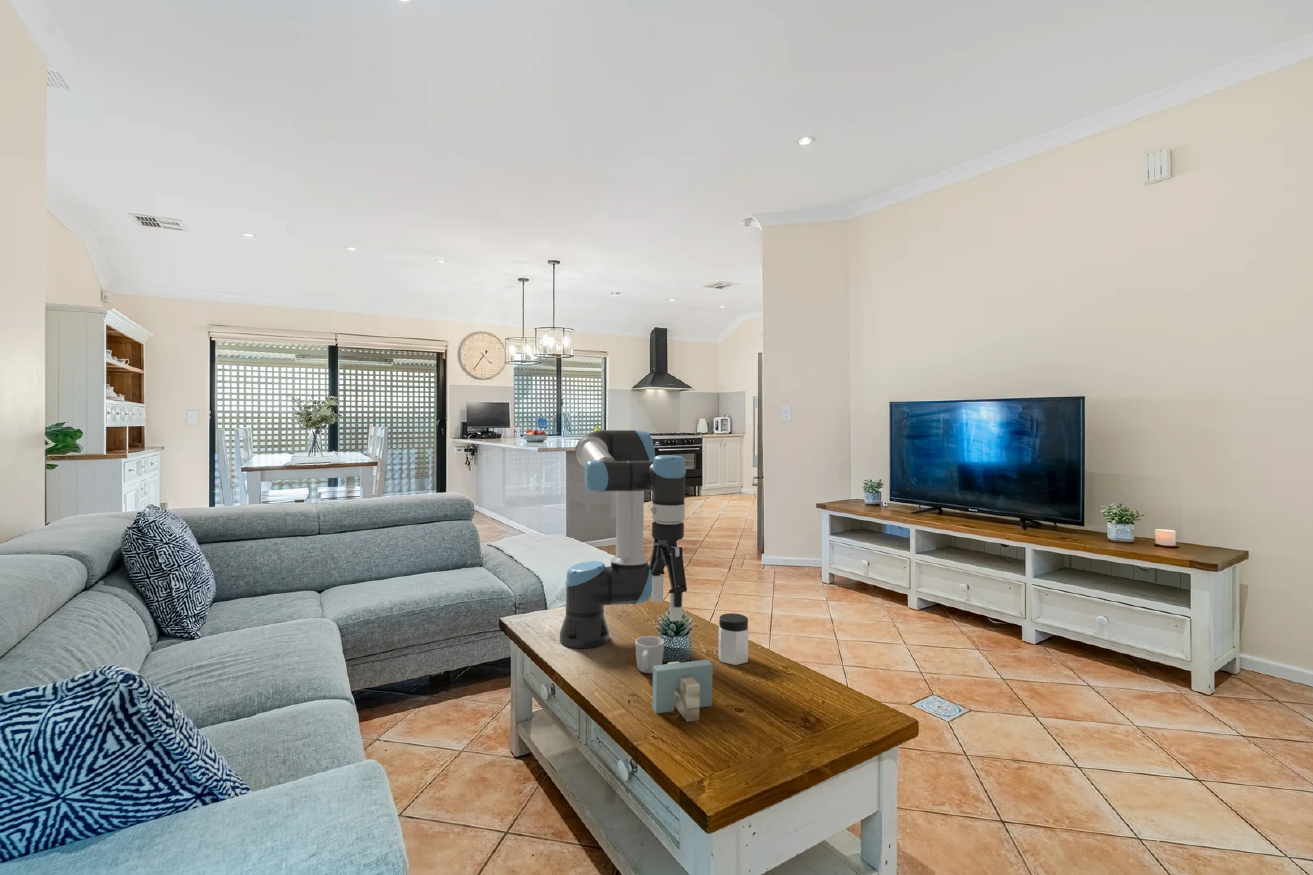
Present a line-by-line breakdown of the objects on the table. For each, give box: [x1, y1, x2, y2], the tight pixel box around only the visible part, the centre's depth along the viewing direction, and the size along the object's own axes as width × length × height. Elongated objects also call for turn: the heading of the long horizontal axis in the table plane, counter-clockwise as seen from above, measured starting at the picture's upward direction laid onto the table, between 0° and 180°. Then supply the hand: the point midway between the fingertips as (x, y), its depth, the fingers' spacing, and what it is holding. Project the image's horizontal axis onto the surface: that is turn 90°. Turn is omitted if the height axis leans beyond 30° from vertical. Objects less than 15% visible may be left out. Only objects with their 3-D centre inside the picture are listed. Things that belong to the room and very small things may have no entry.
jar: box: [717, 613, 749, 666], centre depth 172 cm, size 9×8×12 cm
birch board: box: [667, 661, 700, 723], centre depth 142 cm, size 14×3×8 cm, turn 18°
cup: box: [634, 635, 666, 674], centre depth 162 cm, size 11×8×8 cm
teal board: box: [651, 659, 714, 714], centre depth 142 cm, size 3×14×10 cm, turn 108°
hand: (666, 610), depth 141 cm, fingers open, 13 cm apart
